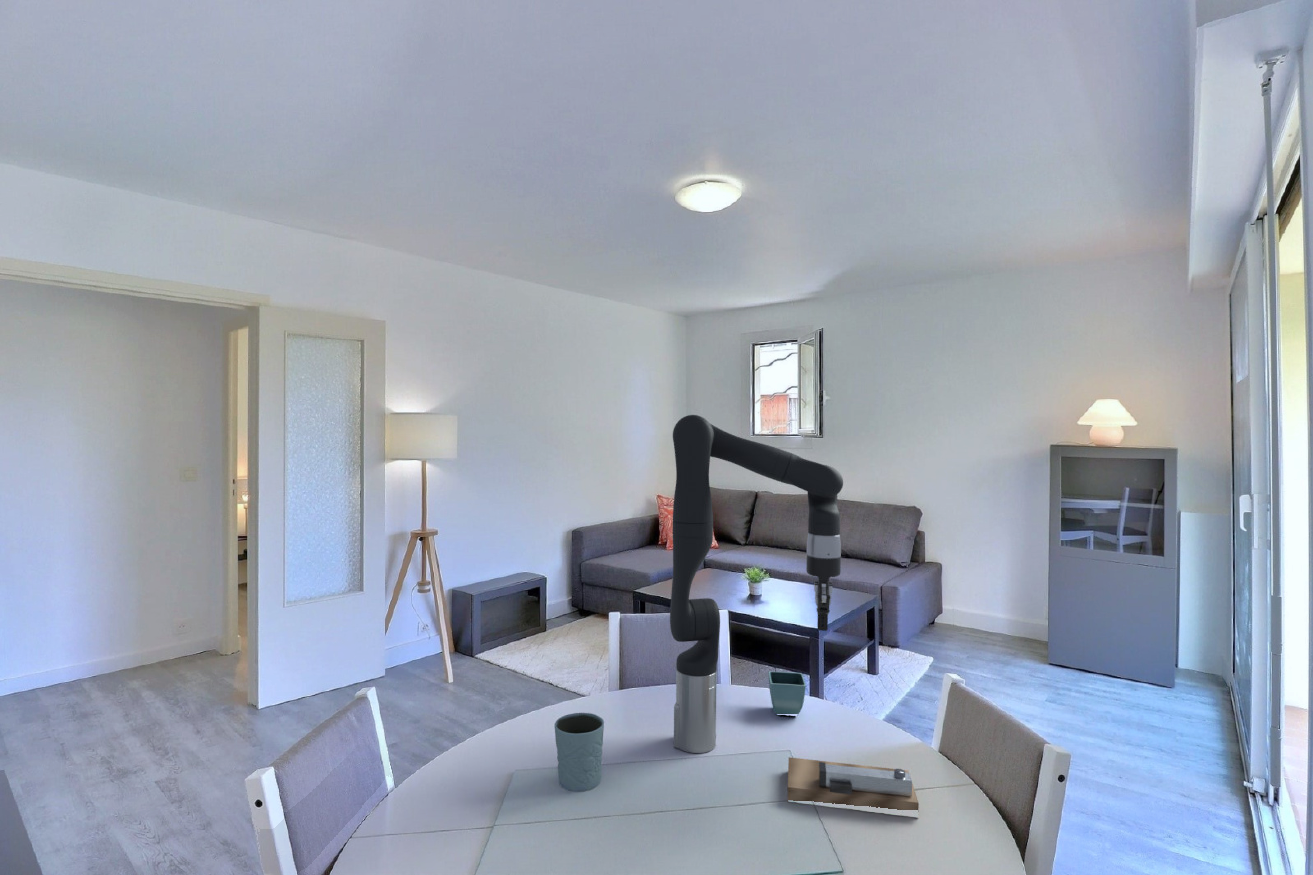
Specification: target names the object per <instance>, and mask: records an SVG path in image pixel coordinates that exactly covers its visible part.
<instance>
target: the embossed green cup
mask: <svg viewBox="0 0 1313 875" xmlns="http://www.w3.org/2000/svg"><path fill="white" fill-rule="evenodd" d="M604 729H605V721H604V719H603V718H602V717H601V716H600V715H597V714H595V713H591V712H575V713H569V714H565V715H563V716H561V717H559V718H558V719H557V720H556V721H555V723H554V734H555V735H554V737H555V738H554V739H555V746H556V753H557V756H556V759H557V774H558V783H559V785H560V787H561V788H562V789H564V790H565V791H566V790H567V791H568V792H575V793H577V792H580V793H581V792H588V791H591V790H593V789H595V788H597V787H598V786H599V785H600V783H601V779H602V768H603V767H602V766H603V765H602V760H603V749H602V748H603V744H604Z"/></svg>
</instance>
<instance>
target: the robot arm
mask: <svg viewBox="0 0 1313 875" xmlns="http://www.w3.org/2000/svg"><path fill="white" fill-rule="evenodd" d="M672 441H673V447H674V448H673V449H674V456H675V457H674V458H675V468H676V470H675V471H676V474H675V475H676V476H675V477H676V478H675V480H676V481H675V488H674V495H673V496H674V497H673V507H672V579H671V580H672V583H671V594H670V607H669V608H670V610H669V628H670V632H671V635H672V637H673V640H675V641H676V642H679V643H683V642H695V643H694V645H693V646H691V647H690V648H688V649H687V650H685V651H682V652H681V653H679V655H678V656H677V657H676V664H675V665H676V666H675V668H676V671H675V672H676V674H675V677H676V678H675V680H676V681H675V687H676V688H675V703H674V707H673V748H677V749H680V750H681V751H684V752H686V753H692V754H704V753H708V752H710V751H712V750H714V749H715V748H716V742H717V683H718V682H717V678H718V676H717V671H718V670H717V669H718V668H717V667H718V660H719V647H720V643H719V642H720V633H721V614H720V607H719V606H718V604H717V602H716V601H715V599H713V598H710V597H705V598H704V597H703V598H691V599H690V594H691V592H690V591H691V588H692V584H693V580H694V578H695V576H696V574H697V572H698V570H699V568H700V567H701V565H702V563H703V562H704V561H705V559H706V557H707V555H708V553H709V551H711V547H712V545H713V541H714V512H713V501H712V493H711V486H710V462H711V457H712V458H715V459H716V458H717V459H719V460H722V461H726V462H729V463H732V464H734V465H736V466H739V467H742V468H744V469H745V470H748V471H751V472H753V473H755V474H757V475H760V476H763V477H766V478H768V479H772V480H774V481H777V482H779V483H783V484H786V485H790V486H791V485H792V486H794V487H796V488H798V489H800V490H804V491H805V492H807V499H808V500H807V502H808V519H807V520H808V521H807V522H808V526H807V530H808V531H807V539H806V568H805V569H806V573H807V574H808V575H810V576H812V577H817V580H813V588H814V592H815V593H814V602H815V605H816V612H817V624H816V625H817V630H818V631H825V632H827V631H828V628H829V624H828V623H829V622H828V619H829V618H828V617H829V614H830V606H831V604H832V593H833V581H830V578H836V577H839V576H840V575H841V573H842V572H841V569H842V567H841V563H842V562H841V561H842V556H841V554H842V542H841V515H840V514H841V513H840V511H839V508H838V495H839V493H841V490H842V489H843V486H844V479H843V476H842V474H841V472H840V471H839V470H838V469H836V468H835V467H832V466H829V465H827V464H822V463H819V462H815V461H812V460H809V459H806V458H803V457H801V456H799V455H797V454H794V453H792V452H789V451H786V450H784V449H781V448H777V447H774V446H771V445H768V444H765V443H761V442H757V441H754V440H749V439H746V438H743V437H739V436H737V435H734V434H732V433H729V432H727V431H725V430H722V429H721V428H719V427H717V426H715V425H713V424H712V423H710V422H709V421H708V420H707V419H706V418H704V417H703V416H700V415H697V414H689V415H686V416H683V417H681V418H680V419H679V420H678V421H677V423H676V424H675V425H674V427H673V430H672Z"/></svg>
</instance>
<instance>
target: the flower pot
mask: <svg viewBox="0 0 1313 875" xmlns="http://www.w3.org/2000/svg"><path fill="white" fill-rule="evenodd" d="M768 684H769V695H770V701H771V706H772V709H773V711H774V714H775V715H776V714H798V715H799V714H800V713H801V712H802V710H803V706H804V703H805V702H804V701H805V697H806V696H805V695H806V688H807V684H806V681H805V678H804V674H803V673H801V672H791V671H774V670H773V671H771V670H770V671H768Z"/></svg>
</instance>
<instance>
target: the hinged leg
mask: <svg viewBox="0 0 1313 875" xmlns="http://www.w3.org/2000/svg"><path fill="white" fill-rule="evenodd" d="M894 769H895V770H894V771H886V770H877V769H867V768H857V767H848V766H838V765H828V764H825V763H823V762H819V786H820V787H824V788H826V787H829V788H830V782H837V783H846V784H852V790H856V791H865V792H874V793H884V794H893V795H902V796H911V797H912V784H913V780H912V777H911V774H910V772H909V773H906V772H905V771H904V770H905V769H902V768H894Z"/></svg>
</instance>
